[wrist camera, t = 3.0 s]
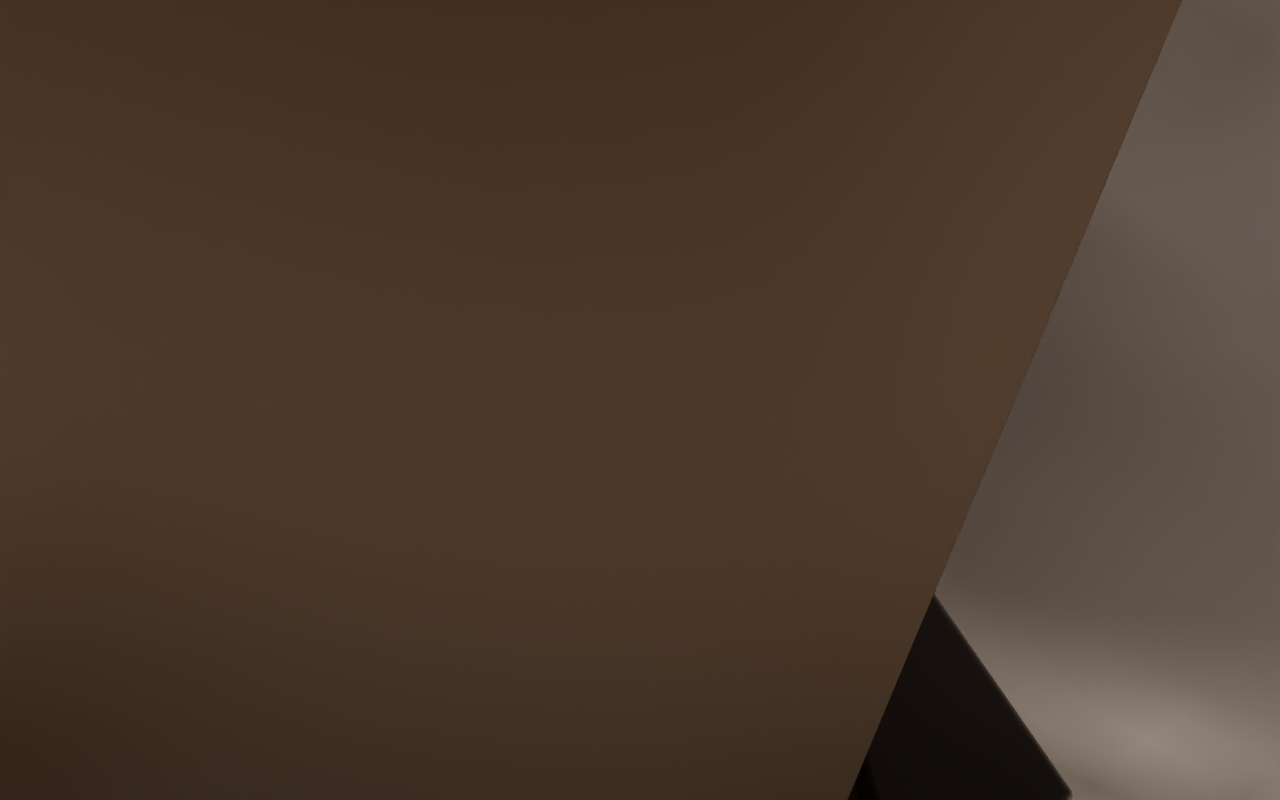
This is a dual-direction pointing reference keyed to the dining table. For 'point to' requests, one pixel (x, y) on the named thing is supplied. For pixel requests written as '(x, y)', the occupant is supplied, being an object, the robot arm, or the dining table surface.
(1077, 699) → the dining table surface
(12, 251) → the brown rectangular block
